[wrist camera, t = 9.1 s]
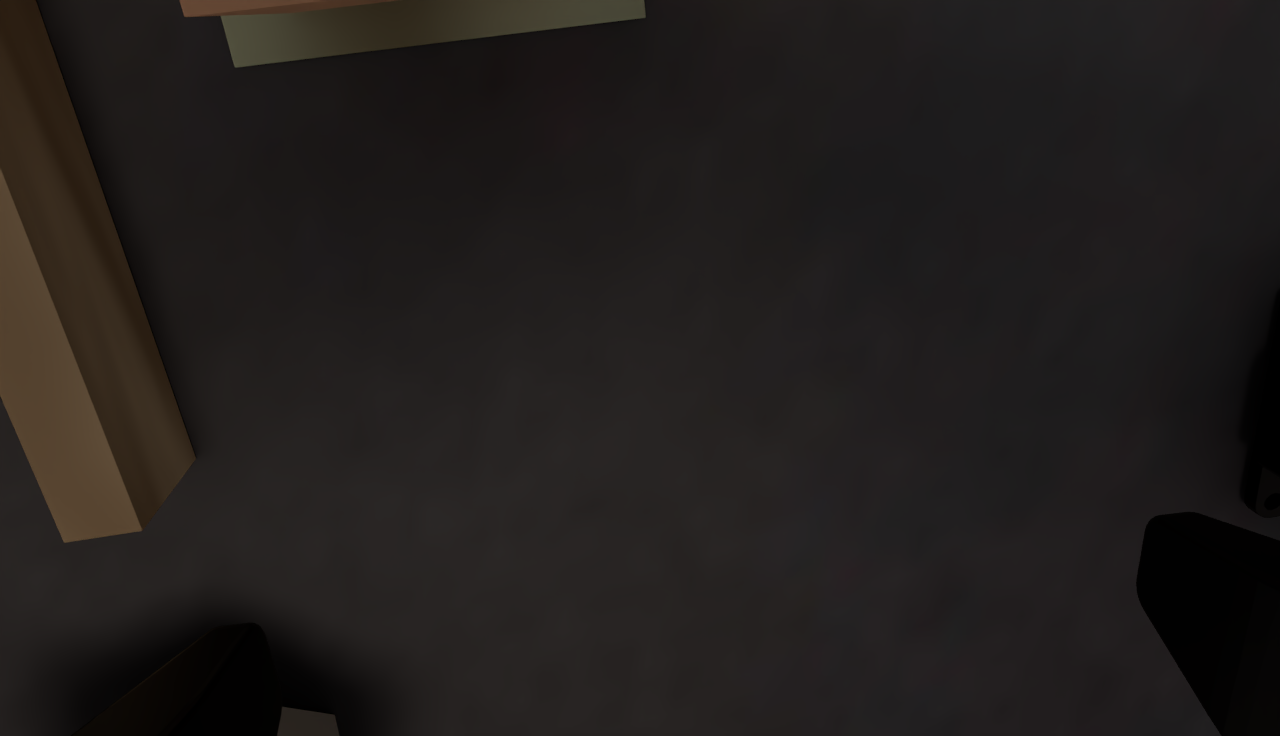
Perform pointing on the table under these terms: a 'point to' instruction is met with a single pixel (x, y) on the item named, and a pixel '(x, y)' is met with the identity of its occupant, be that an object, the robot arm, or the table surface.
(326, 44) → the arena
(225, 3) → the cube
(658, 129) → the table surface
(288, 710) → the die
